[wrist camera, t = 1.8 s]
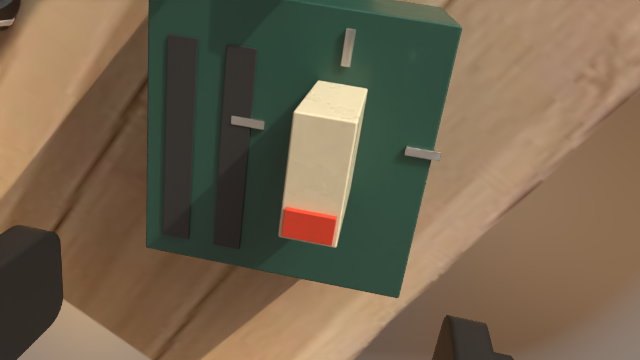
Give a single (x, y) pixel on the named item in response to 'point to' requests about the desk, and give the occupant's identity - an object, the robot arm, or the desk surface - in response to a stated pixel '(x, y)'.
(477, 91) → the desk surface
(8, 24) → the black computer mouse
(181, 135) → the toaster slots
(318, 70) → the toaster
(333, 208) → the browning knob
